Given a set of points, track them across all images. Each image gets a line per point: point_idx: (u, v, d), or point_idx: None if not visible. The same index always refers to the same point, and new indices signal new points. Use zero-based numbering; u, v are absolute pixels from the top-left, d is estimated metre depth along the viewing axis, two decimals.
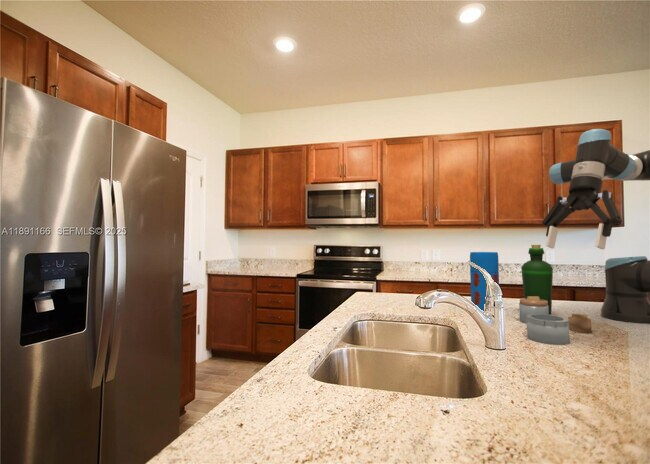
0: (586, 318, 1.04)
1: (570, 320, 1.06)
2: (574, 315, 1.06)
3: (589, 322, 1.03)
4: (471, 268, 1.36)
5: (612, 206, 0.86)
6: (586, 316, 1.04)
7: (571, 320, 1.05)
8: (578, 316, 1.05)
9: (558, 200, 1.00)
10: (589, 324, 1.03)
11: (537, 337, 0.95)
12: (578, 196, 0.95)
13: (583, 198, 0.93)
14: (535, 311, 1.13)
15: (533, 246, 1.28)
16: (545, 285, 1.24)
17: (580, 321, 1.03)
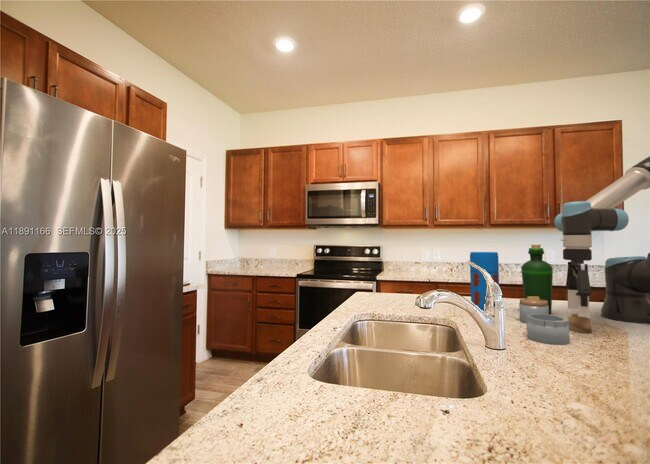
0: (586, 318, 1.04)
1: (570, 320, 1.06)
2: (574, 315, 1.06)
3: (589, 322, 1.03)
4: (471, 268, 1.36)
5: (582, 279, 0.99)
6: None
7: (571, 320, 1.05)
8: (578, 316, 1.05)
9: (568, 265, 1.12)
10: (589, 324, 1.03)
11: (537, 337, 0.95)
12: (572, 265, 1.07)
13: (571, 269, 1.06)
14: (535, 311, 1.13)
15: (533, 246, 1.28)
16: (545, 285, 1.24)
17: (580, 321, 1.03)
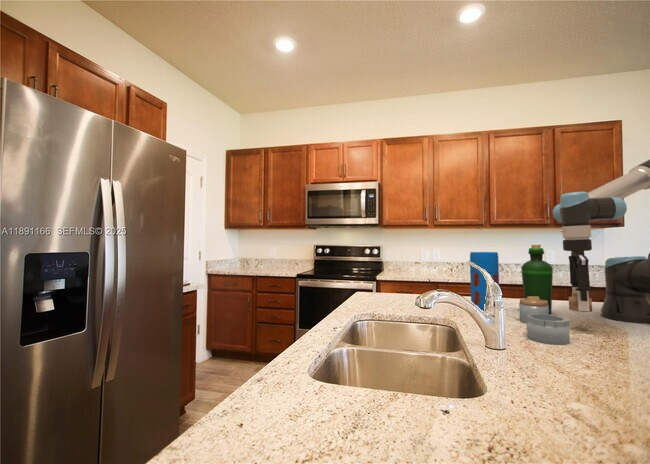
0: None
1: (570, 299, 1.06)
2: (574, 294, 1.06)
3: (589, 300, 1.03)
4: (471, 268, 1.36)
5: (582, 275, 1.01)
6: None
7: (571, 299, 1.06)
8: None
9: (569, 259, 1.12)
10: (590, 303, 1.03)
11: (537, 337, 0.95)
12: (572, 252, 1.07)
13: (571, 260, 1.06)
14: (535, 311, 1.13)
15: (533, 246, 1.28)
16: (545, 285, 1.24)
17: None
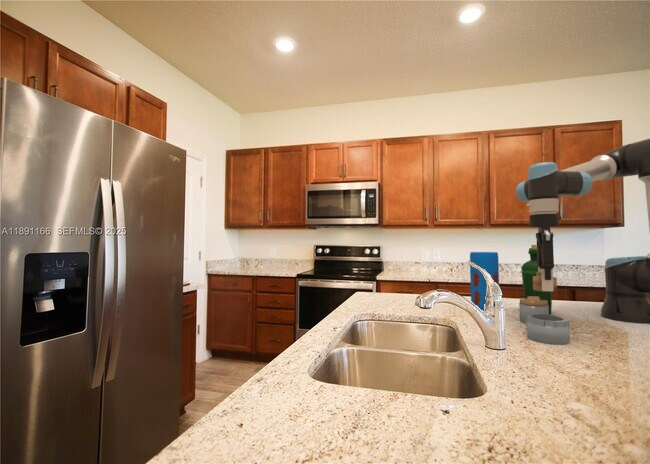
0: None
1: (534, 279, 0.98)
2: (539, 273, 0.98)
3: (554, 280, 0.95)
4: (471, 268, 1.36)
5: (546, 251, 0.92)
6: None
7: (535, 278, 0.97)
8: None
9: None
10: (554, 282, 0.95)
11: (537, 337, 0.95)
12: (539, 229, 0.99)
13: (537, 236, 0.98)
14: (535, 311, 1.13)
15: (533, 246, 1.28)
16: None
17: None
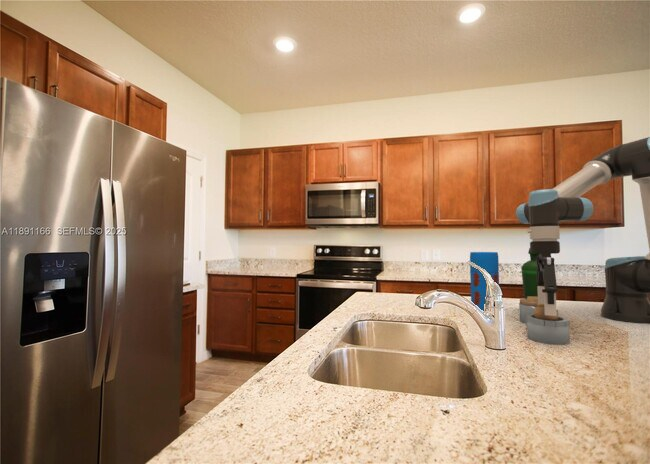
0: None
1: (536, 311, 0.97)
2: (540, 305, 0.97)
3: None
4: (471, 268, 1.36)
5: (548, 275, 0.90)
6: None
7: (536, 311, 0.97)
8: None
9: (537, 259, 1.04)
10: None
11: (537, 337, 0.95)
12: (540, 258, 0.99)
13: (538, 263, 0.97)
14: None
15: None
16: None
17: None
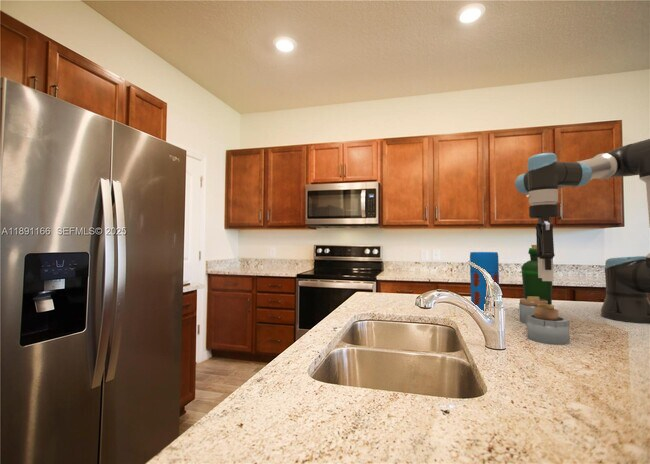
0: (552, 309, 0.96)
1: (536, 311, 0.97)
2: (540, 305, 0.97)
3: (555, 313, 0.94)
4: (471, 268, 1.36)
5: (546, 241, 0.92)
6: (552, 306, 0.96)
7: (536, 311, 0.97)
8: (544, 306, 0.97)
9: None
10: (555, 315, 0.94)
11: (537, 337, 0.95)
12: (539, 220, 0.99)
13: (537, 227, 0.98)
14: None
15: (533, 246, 1.28)
16: (545, 285, 1.24)
17: (545, 312, 0.95)
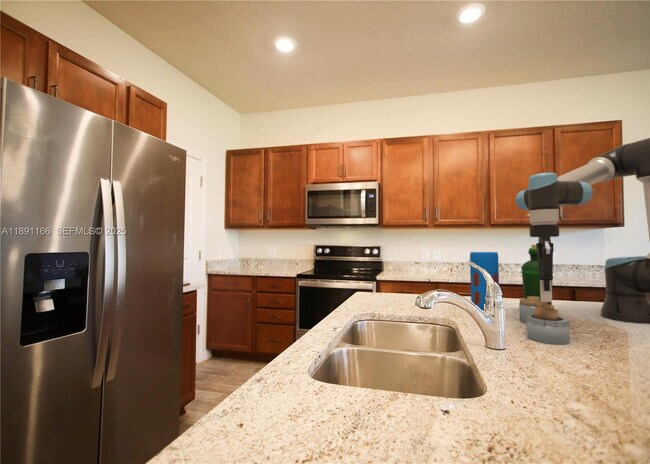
0: (552, 309, 0.96)
1: (536, 311, 0.97)
2: (540, 305, 0.97)
3: (555, 313, 0.94)
4: (471, 268, 1.36)
5: (545, 264, 0.94)
6: (552, 306, 0.96)
7: (536, 311, 0.97)
8: (544, 306, 0.97)
9: None
10: (555, 315, 0.94)
11: (537, 337, 0.95)
12: (539, 237, 0.99)
13: (537, 246, 0.98)
14: None
15: (533, 246, 1.28)
16: None
17: (545, 312, 0.95)
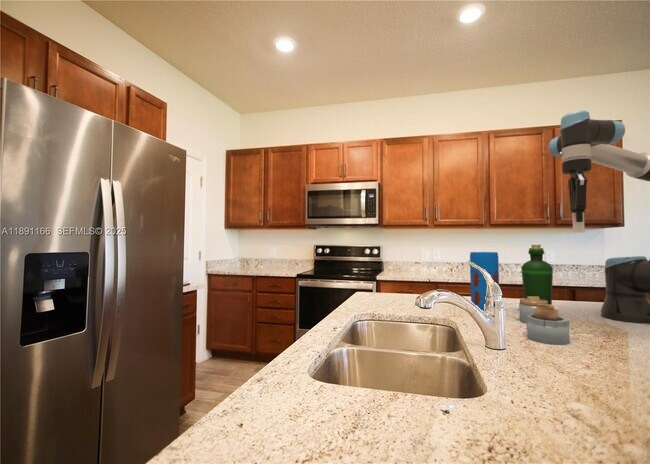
0: (552, 309, 0.96)
1: (536, 311, 0.97)
2: (540, 305, 0.97)
3: (555, 313, 0.94)
4: (471, 268, 1.36)
5: (579, 195, 1.00)
6: (552, 306, 0.96)
7: (536, 311, 0.97)
8: (544, 306, 0.97)
9: (568, 187, 1.09)
10: (555, 315, 0.94)
11: (537, 337, 0.95)
12: (571, 173, 1.06)
13: (570, 181, 1.04)
14: None
15: (533, 246, 1.28)
16: (545, 285, 1.24)
17: (545, 312, 0.95)
